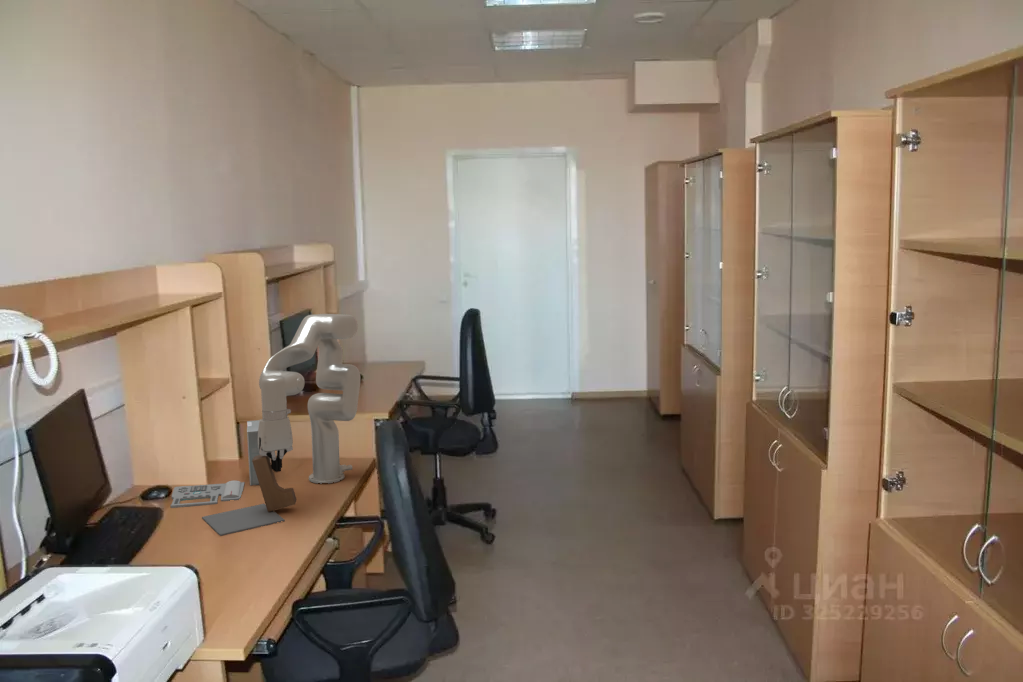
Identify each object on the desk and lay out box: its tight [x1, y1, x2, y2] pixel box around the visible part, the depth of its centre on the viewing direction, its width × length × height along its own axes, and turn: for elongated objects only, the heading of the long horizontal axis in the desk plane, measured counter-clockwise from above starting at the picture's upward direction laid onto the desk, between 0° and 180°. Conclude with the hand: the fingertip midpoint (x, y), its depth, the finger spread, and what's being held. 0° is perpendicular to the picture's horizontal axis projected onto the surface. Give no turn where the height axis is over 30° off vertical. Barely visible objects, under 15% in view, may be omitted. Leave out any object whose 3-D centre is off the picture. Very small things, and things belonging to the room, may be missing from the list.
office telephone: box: [170, 480, 245, 509], centre depth 278 cm, size 23×3×20 cm
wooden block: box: [252, 455, 297, 512], centre depth 262 cm, size 9×4×18 cm, turn 99°
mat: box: [201, 503, 286, 537], centre depth 256 cm, size 20×18×1 cm
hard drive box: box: [246, 419, 271, 486], centre depth 295 cm, size 16×8×20 cm, turn 17°
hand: (276, 470), depth 260 cm, fingers closed
